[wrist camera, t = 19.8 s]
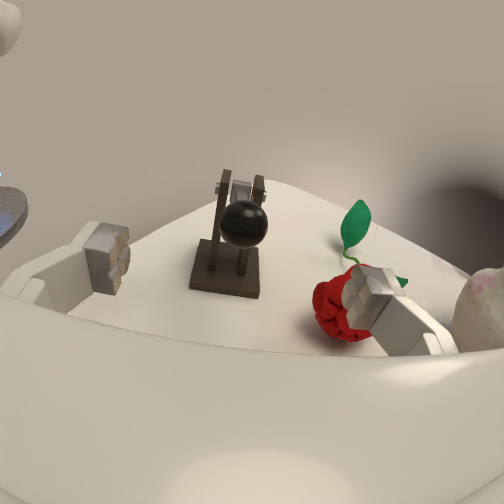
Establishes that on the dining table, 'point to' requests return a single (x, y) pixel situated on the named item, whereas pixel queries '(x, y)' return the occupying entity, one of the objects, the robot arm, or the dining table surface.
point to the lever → (242, 218)
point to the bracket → (228, 253)
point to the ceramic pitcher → (480, 312)
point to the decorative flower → (343, 281)
